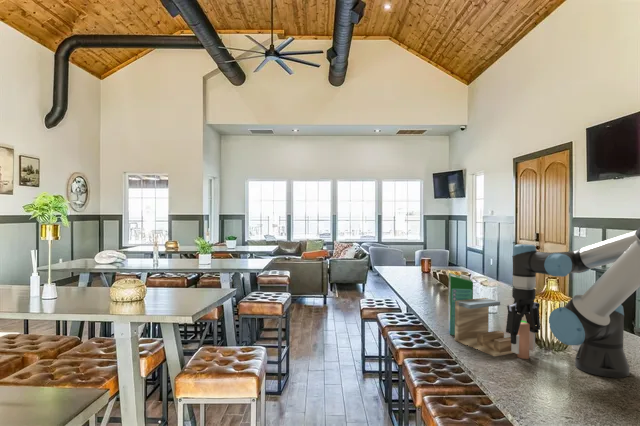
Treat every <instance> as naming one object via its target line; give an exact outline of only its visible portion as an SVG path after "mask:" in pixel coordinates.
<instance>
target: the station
mask: <svg viewBox="0 0 640 426" xmlns="http://www.w3.org/2000/svg"><path fill="white" fill-rule="evenodd" d="M495 306H501V301H499V300H496V299H491V298H488V297H481V298H480V297H479V298H473V299H469V300H459V301H455V335H454V341H456V342H458V343H460V344H463V345H465V346H467V345H468V347H470V348H472V347H473V349H474V350H477V349H478V350H477V351H479V352H480V351H481V352H483V353H485V354H487V355H490V356H491V357H492V356H493V357H499V356H505V355H506V356H507V355H511V354H514V353H513V352H511V336H510V337H505V332H503V331H501V330H493V331H489V324H490V323H489V315H490V312H489V308H490V307H495Z"/></svg>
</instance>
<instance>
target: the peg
mask: <svg viewBox="0 0 640 426" xmlns="http://www.w3.org/2000/svg"><path fill="white" fill-rule="evenodd" d="M517 335H519V354H516V357H517V358H518V359H522V360H528V359H530V350H529V338H530V324H528V323H524V322H521V323H520V327H519V331H518V334H517Z"/></svg>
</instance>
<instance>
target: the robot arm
mask: <svg viewBox="0 0 640 426" xmlns="http://www.w3.org/2000/svg"><path fill="white" fill-rule="evenodd" d="M511 257H512V286H513V287H512V288H511V291H512V292H511V293H512V294H511V295H512V298H513V299H514V301H513V303H512V304H507V306H506V307H507V316H506V317H507V319H506V325H505V333H507V334H510V337H511V352H513V353H512V354H516V355H517V354H519V335H517V334H518V331H519V327H520V323H521V320H522V319H523V318H524V316H525V320H526V322H527V323H528V324H530V338H529V351H532V352H535V351H536V339H537V338H536V337H537V336H536V335H537V334H539V331H540V330H541V320H540V319H541V318H540V306H541V304H540V303H539V302H536V301H535V299H536V291H537V290H536V289H535V288H536V286H537V283H536V282H537V279H536V278H537V277H536V274H541V275H548V276H552V277H561V278H562V277H567V276H568V275H569V274H580V273H585V272H588V271H590V270H591V269H595V268H598V267H602V266H605V265H610V264H612V265H611V266H610V267H608V269H606V271H605V272H604V273H603V274H602V275H601V276H600V277H599V278H598V279H597V280H596V281H595V282H594V283H593V284H592V285H591V286H590V287H589V288H588V289H587V290H586V291H585V292H584V294H576V295H574V296H573V297H572V298H571V299H569V301H568V302H567V303H566V304H565V305H564V306H559V307H556V308H555V309H554V310H552V311H551V313H550V314H549V316H548V324H549V329H550V331H551V333H552V335H553V336H554V338H555V339H557V340H558V341H559V342H561V343H562V344H564V345H567V346H571V345H580V348H579V350H578V351H577V353H576V356H575V358H574V365H575V367H576V368H577V369H579V370H581V371H583V372H585V373H588V374H591V375H595V376H599V377H604V378H614V379H615V378H616V379H618V378H620V379H621V378H627V377H629V376H630V375H631V374H630V373H631V372H630V370H631V369H630V366H629V362H628V359H627V357H626V354H625V351H624V330H625V329H624V326H625V324H624V323H625V322H624V320H625V312H624V306H623V305H622V304H624V302H625V301H626V300H627V299H628V298H629V297H630V296H632V294H634V293H635V291H637V290H638V289H639V288H640V226H639V227H638V228H637V229H635V230H632V231H630V232H629V231H628V232H627V233H623V234H621V235H617V236H614V237H611V238H608V239H604V240H602V241H597V242H596V243H593V244H589V245H586V246H584V247H581V248H580V247H579V248H577V249H575V250H571V251H554V252H548V251H547V252H546V251H537V247H536V245H535V244H523V243H521V244H520V243H518V244H515V245H514V246H513V247H512V256H511ZM522 321H523V320H522ZM514 330H515V331H514Z"/></svg>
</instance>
